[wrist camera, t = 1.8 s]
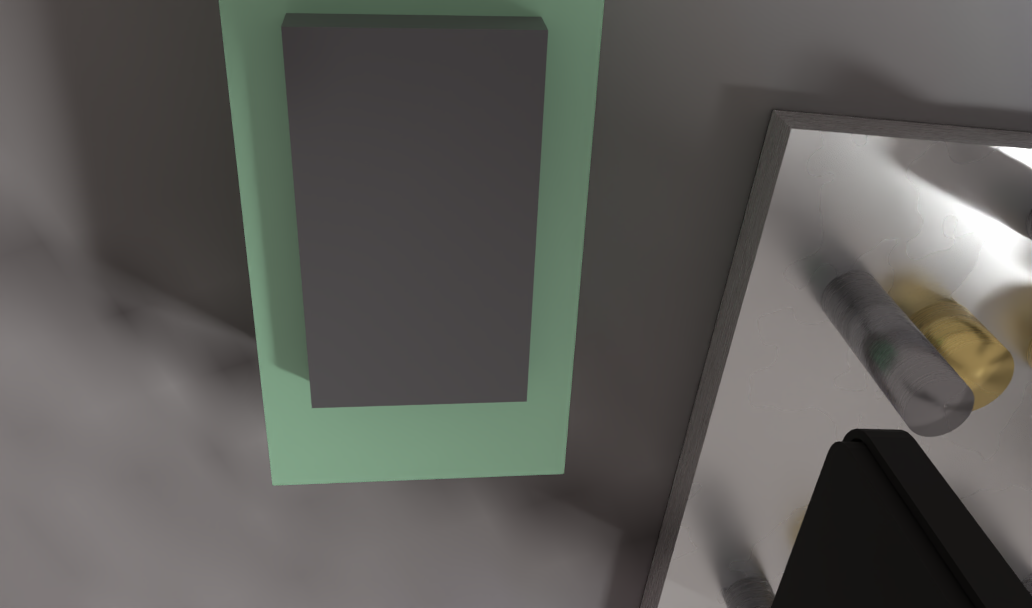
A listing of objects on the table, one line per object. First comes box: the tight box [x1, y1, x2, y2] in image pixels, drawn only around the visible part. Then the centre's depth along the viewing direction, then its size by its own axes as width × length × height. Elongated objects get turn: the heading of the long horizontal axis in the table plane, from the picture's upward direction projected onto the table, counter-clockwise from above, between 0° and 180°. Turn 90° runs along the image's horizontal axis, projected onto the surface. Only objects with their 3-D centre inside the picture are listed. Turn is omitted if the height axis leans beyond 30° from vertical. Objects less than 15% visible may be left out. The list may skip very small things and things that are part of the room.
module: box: [219, 0, 604, 485], centre depth 19 cm, size 12×6×6 cm, turn 178°
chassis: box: [640, 110, 1032, 608], centre depth 25 cm, size 18×14×6 cm
